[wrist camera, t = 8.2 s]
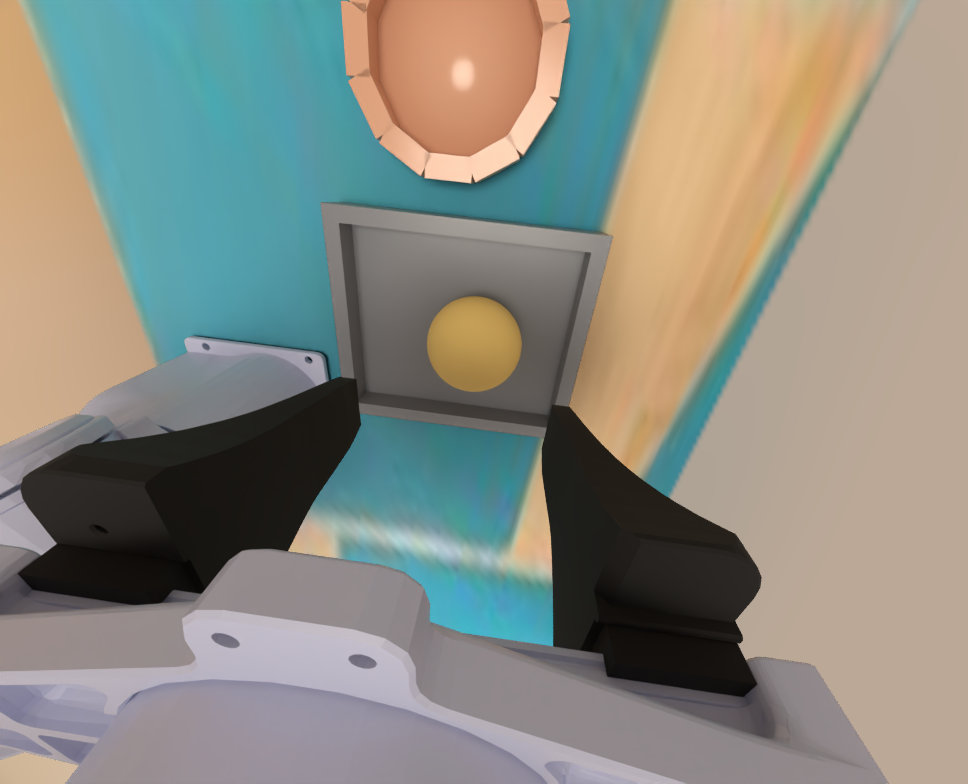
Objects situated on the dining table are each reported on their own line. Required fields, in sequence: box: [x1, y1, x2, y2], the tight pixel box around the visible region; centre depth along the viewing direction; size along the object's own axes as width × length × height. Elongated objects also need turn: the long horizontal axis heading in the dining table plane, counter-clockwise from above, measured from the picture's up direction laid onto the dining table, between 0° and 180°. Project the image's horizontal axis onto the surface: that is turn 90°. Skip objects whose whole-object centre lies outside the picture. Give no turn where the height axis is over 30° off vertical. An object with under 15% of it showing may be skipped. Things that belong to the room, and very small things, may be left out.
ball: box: [427, 296, 522, 392], centre depth 18 cm, size 5×5×5 cm
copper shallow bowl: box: [341, 0, 570, 184], centre depth 15 cm, size 9×9×2 cm
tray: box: [321, 202, 613, 438], centre depth 20 cm, size 14×12×2 cm
